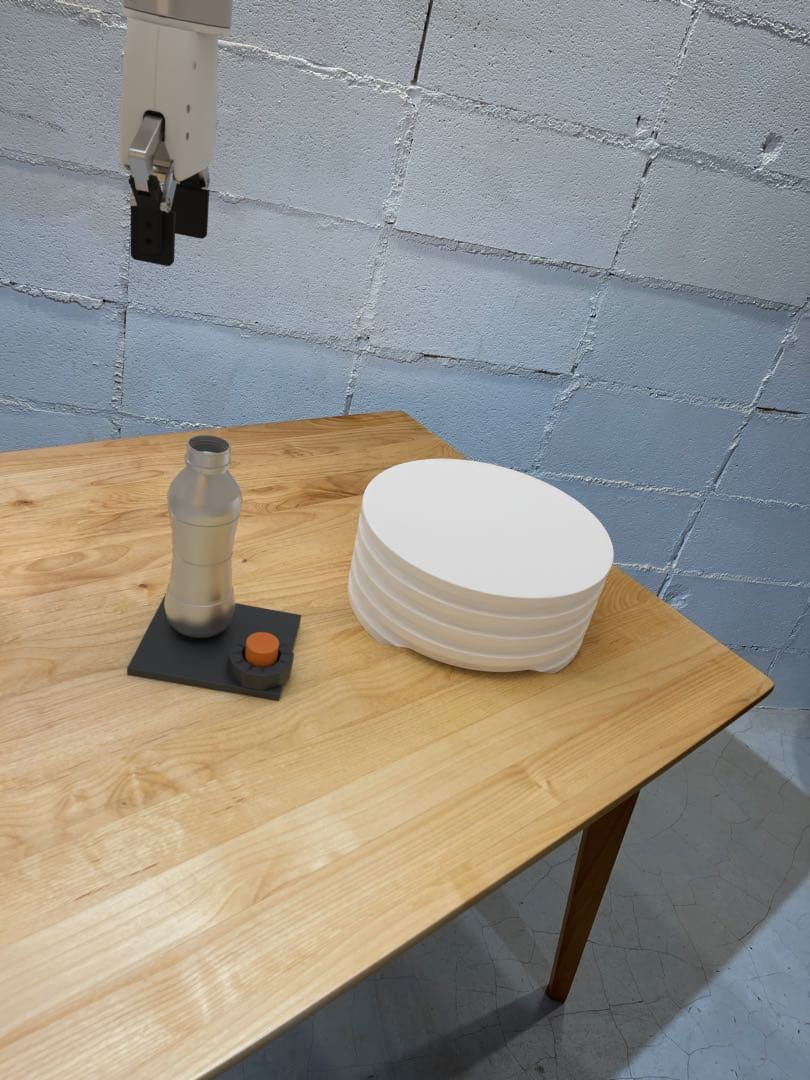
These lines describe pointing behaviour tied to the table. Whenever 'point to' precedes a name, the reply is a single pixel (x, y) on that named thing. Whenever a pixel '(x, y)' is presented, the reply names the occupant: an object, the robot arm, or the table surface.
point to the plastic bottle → (202, 539)
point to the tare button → (261, 649)
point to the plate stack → (477, 566)
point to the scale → (218, 654)
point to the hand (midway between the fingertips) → (171, 247)
